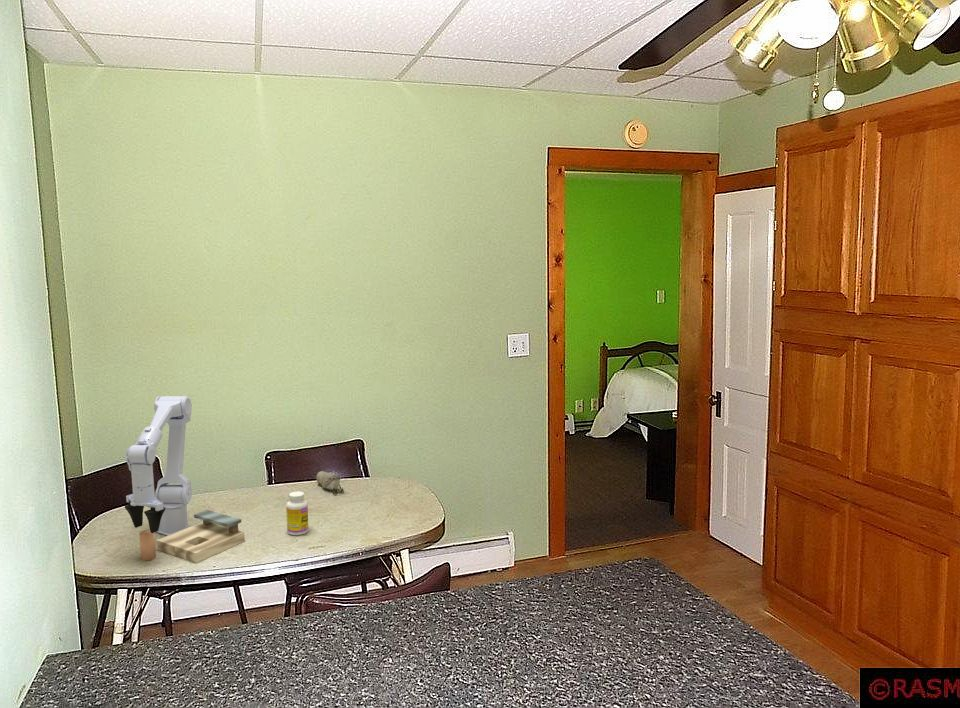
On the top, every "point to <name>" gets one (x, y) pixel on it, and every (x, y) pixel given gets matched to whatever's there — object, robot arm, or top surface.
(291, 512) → the supplement bottle
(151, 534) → the peg
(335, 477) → the decorative bird
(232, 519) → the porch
